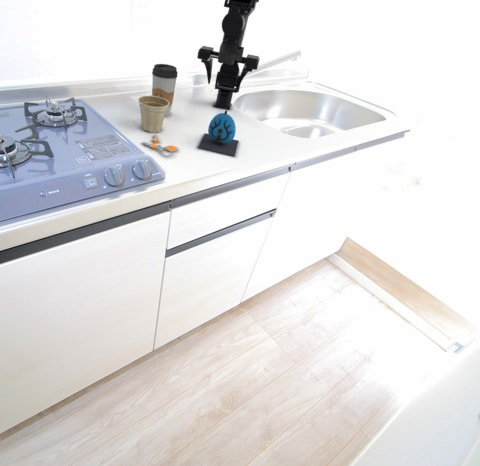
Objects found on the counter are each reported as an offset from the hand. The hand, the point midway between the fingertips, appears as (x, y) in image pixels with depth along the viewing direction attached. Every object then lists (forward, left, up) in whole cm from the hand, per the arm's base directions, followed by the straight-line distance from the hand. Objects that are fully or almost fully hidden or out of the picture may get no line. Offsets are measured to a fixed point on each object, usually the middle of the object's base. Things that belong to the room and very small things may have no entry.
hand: (222, 86), depth 107 cm
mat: (+18, +4, -12) cm, 22 cm away
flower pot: (+17, -18, -12) cm, 28 cm away
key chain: (+28, -12, -12) cm, 33 cm away
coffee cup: (+3, -19, -12) cm, 23 cm away
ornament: (+18, +4, -12) cm, 21 cm away
